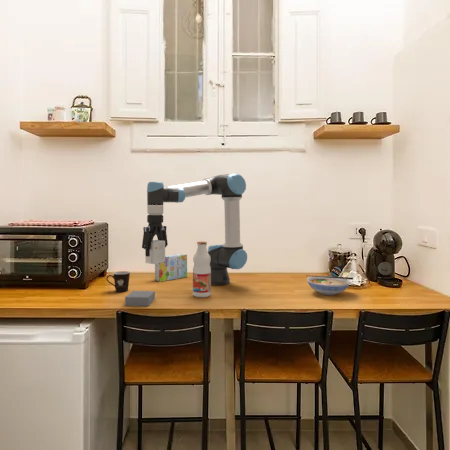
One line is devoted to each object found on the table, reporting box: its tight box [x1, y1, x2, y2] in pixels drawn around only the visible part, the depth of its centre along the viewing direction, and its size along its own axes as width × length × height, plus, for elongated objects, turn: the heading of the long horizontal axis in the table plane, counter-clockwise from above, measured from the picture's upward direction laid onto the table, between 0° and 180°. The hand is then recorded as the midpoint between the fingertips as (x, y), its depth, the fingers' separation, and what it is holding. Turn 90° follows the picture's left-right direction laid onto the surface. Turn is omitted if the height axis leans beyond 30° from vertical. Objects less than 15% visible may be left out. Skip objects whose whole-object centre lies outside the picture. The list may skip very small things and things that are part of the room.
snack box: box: [154, 253, 188, 283], centre depth 218 cm, size 21×6×15 cm, turn 133°
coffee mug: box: [106, 270, 131, 293], centre depth 187 cm, size 12×9×10 cm
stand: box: [124, 290, 156, 307], centre depth 166 cm, size 11×12×4 cm
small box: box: [144, 239, 166, 265], centre depth 164 cm, size 8×6×10 cm
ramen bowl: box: [306, 275, 354, 296], centre depth 184 cm, size 25×23×8 cm
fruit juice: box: [192, 241, 212, 298], centre depth 179 cm, size 9×9×28 cm
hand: (155, 261), depth 164 cm, fingers closed on small box, 8 cm apart
